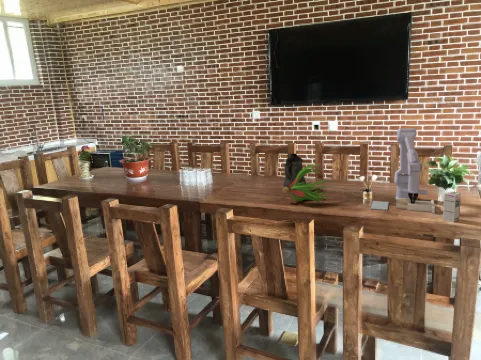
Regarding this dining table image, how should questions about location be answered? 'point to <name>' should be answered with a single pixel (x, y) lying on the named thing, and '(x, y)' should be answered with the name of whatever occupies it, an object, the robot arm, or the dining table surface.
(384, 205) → the slate board
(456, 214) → the syrup box
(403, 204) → the birch block
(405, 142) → the robot arm
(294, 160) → the dark grey backpack
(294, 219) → the dining table surface
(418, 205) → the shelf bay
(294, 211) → the dining table surface
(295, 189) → the decorative plant
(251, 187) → the dining table surface
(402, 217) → the dining table surface
